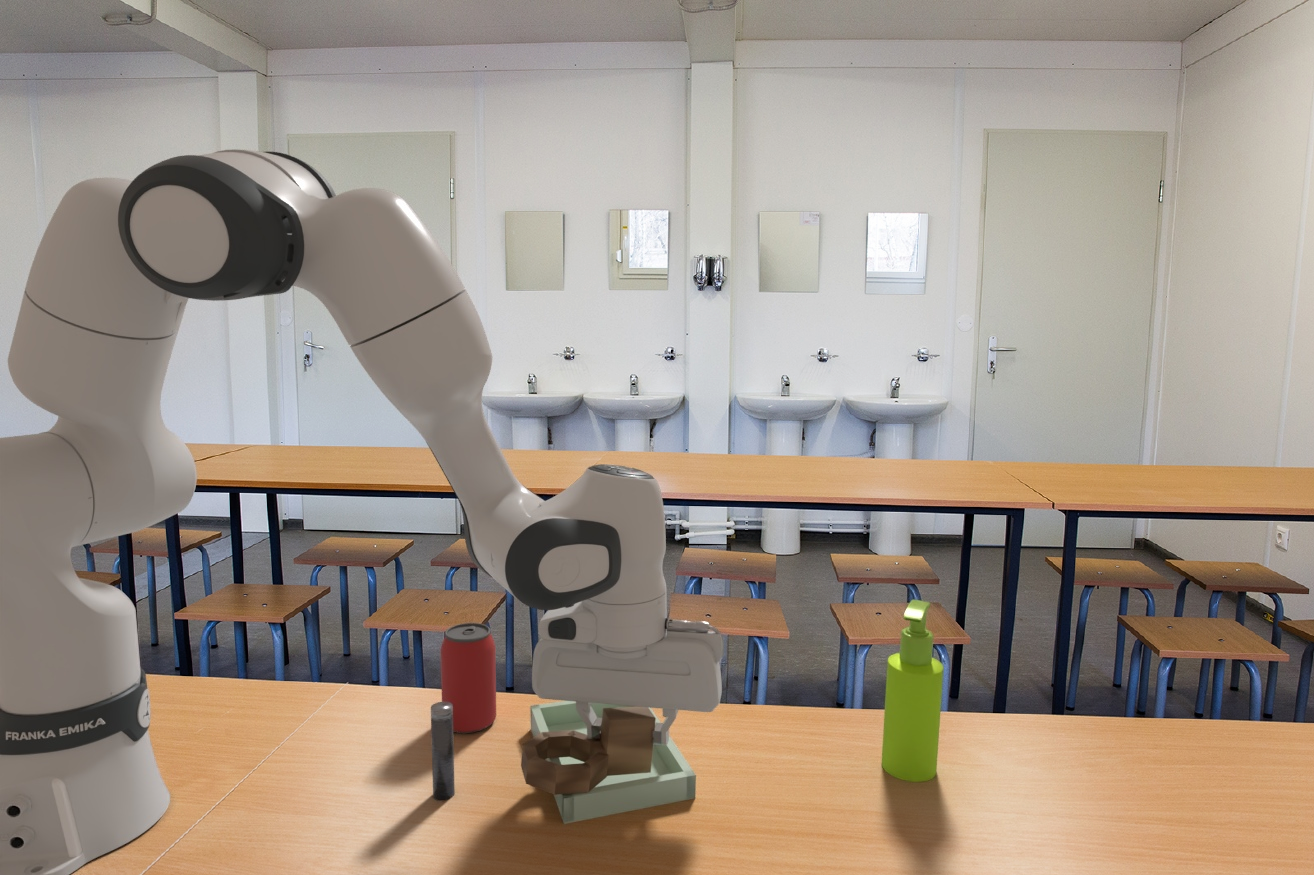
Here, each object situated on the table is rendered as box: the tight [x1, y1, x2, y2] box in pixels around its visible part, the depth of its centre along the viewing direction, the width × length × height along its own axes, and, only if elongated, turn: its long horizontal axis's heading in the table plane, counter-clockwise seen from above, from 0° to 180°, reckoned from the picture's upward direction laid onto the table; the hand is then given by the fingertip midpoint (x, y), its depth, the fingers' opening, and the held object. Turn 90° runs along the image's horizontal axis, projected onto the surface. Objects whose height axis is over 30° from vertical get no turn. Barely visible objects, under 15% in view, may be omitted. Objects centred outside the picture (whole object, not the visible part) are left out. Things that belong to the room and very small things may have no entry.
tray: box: [529, 700, 697, 825], centre depth 89 cm, size 14×20×3 cm
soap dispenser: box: [881, 599, 944, 783], centre depth 86 cm, size 6×7×20 cm
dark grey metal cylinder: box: [430, 701, 456, 802], centre depth 82 cm, size 2×2×10 cm
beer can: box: [440, 622, 497, 734], centre depth 97 cm, size 7×7×12 cm
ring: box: [520, 707, 656, 796], centre depth 82 cm, size 8×13×6 cm, turn 108°
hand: (627, 739), depth 84 cm, fingers closed on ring, 6 cm apart
